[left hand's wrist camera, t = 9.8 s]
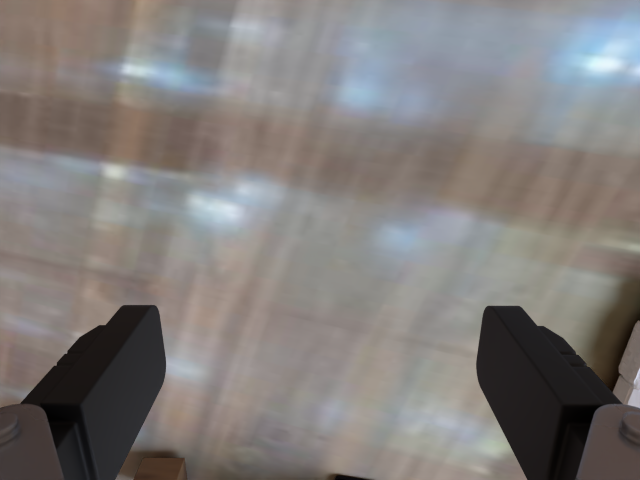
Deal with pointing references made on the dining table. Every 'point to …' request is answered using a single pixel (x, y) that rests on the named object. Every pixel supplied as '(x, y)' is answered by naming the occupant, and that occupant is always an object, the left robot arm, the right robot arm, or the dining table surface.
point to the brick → (162, 469)
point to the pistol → (630, 371)
